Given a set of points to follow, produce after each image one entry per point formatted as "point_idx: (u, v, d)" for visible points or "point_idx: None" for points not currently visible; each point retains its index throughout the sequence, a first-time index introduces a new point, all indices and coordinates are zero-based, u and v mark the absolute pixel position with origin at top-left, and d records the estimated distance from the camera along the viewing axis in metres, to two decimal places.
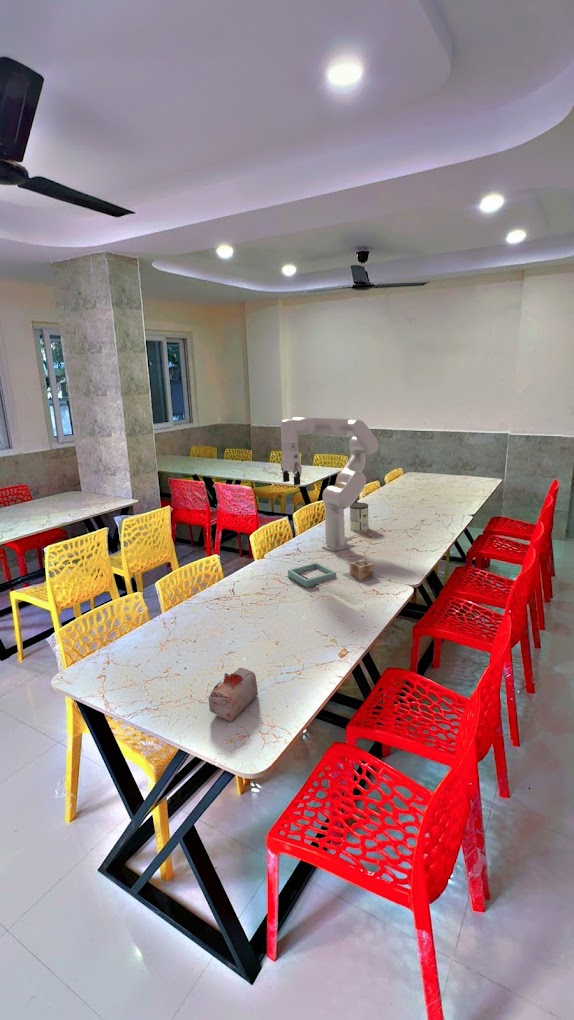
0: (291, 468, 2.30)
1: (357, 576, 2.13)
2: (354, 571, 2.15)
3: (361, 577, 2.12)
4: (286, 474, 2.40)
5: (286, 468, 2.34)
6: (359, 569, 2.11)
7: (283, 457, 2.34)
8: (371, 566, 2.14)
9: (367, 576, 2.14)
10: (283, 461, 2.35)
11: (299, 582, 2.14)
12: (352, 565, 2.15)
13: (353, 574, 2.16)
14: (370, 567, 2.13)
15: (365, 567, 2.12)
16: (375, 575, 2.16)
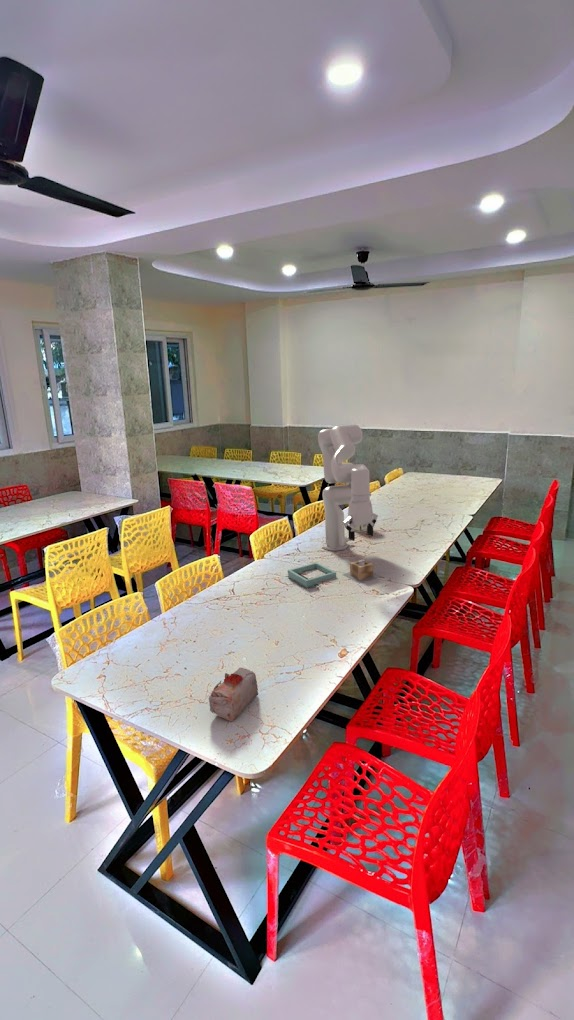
0: (371, 518, 2.10)
1: (357, 576, 2.13)
2: (354, 571, 2.15)
3: (361, 577, 2.12)
4: None
5: (363, 522, 2.08)
6: (359, 569, 2.11)
7: (359, 511, 2.06)
8: (371, 566, 2.14)
9: (367, 576, 2.14)
10: (359, 516, 2.06)
11: (299, 582, 2.14)
12: (352, 565, 2.15)
13: (353, 574, 2.16)
14: (370, 567, 2.13)
15: (365, 567, 2.12)
16: (375, 575, 2.16)
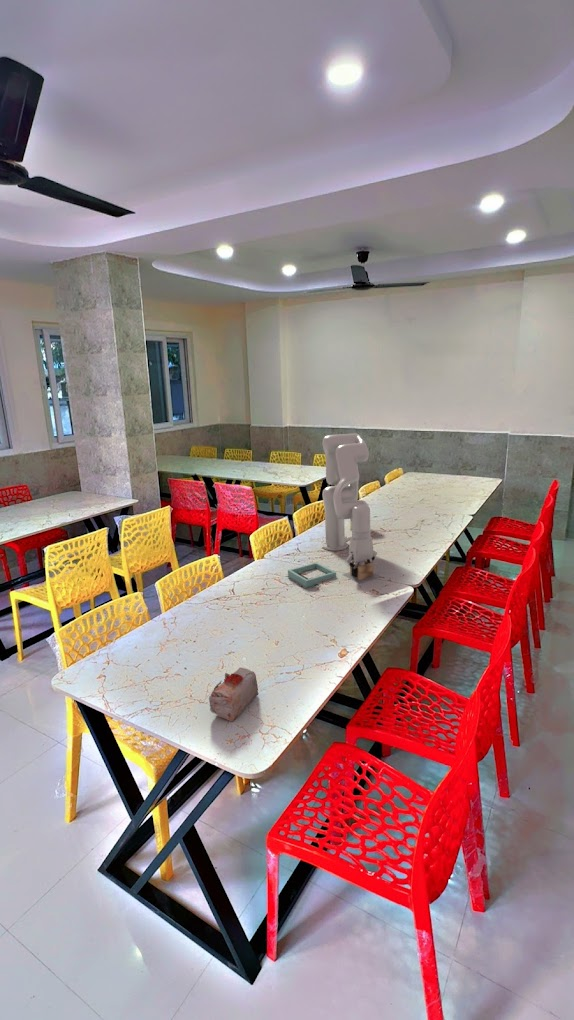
0: (372, 554, 2.14)
1: (357, 576, 2.13)
2: None
3: (361, 577, 2.12)
4: None
5: (364, 558, 2.12)
6: (359, 569, 2.11)
7: (360, 548, 2.10)
8: (371, 566, 2.14)
9: (367, 576, 2.14)
10: (360, 552, 2.10)
11: (299, 582, 2.14)
12: None
13: None
14: (370, 567, 2.13)
15: (365, 567, 2.12)
16: (375, 575, 2.16)
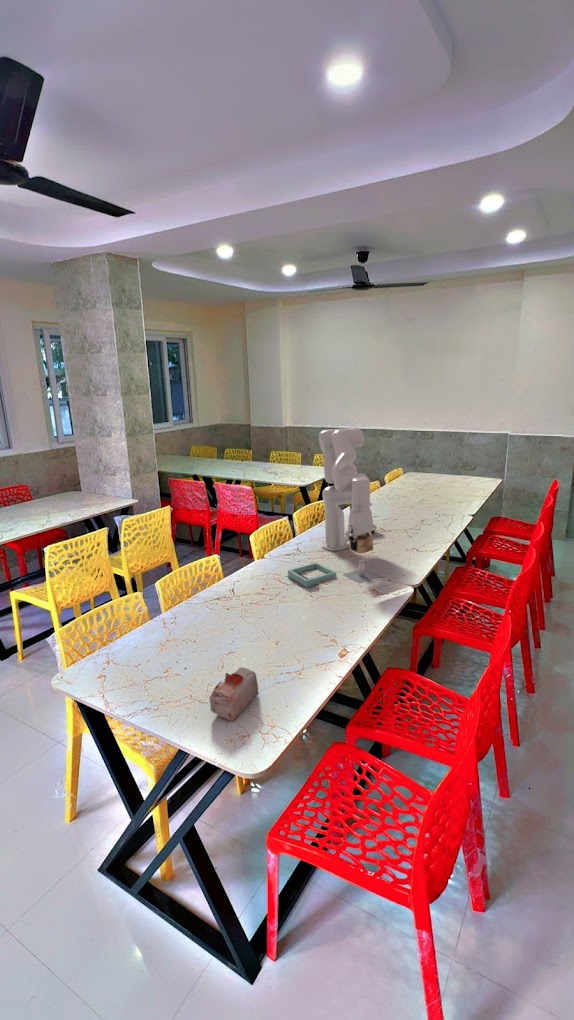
0: (371, 528, 2.12)
1: None
2: None
3: (360, 551, 2.09)
4: None
5: (363, 531, 2.10)
6: (359, 542, 2.08)
7: (360, 521, 2.07)
8: (371, 540, 2.11)
9: (366, 550, 2.11)
10: (359, 525, 2.08)
11: (299, 582, 2.14)
12: None
13: None
14: (370, 541, 2.11)
15: (364, 541, 2.09)
16: (375, 575, 2.16)
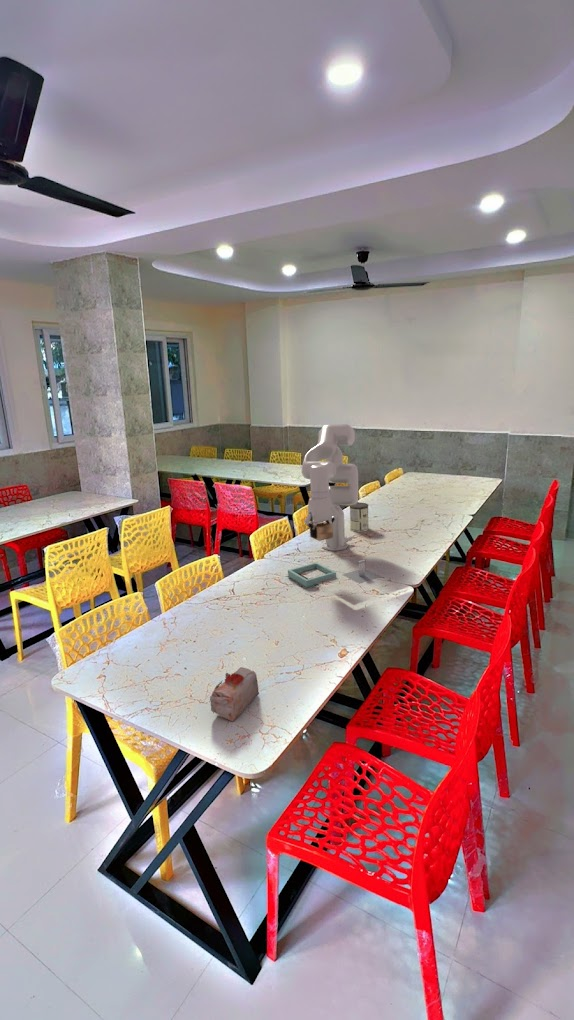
0: (331, 515, 2.12)
1: None
2: None
3: (320, 538, 2.10)
4: None
5: (323, 518, 2.10)
6: (318, 529, 2.09)
7: (319, 508, 2.08)
8: (330, 527, 2.11)
9: (326, 537, 2.11)
10: (318, 512, 2.08)
11: (299, 582, 2.14)
12: None
13: None
14: (329, 528, 2.11)
15: (324, 528, 2.10)
16: (375, 575, 2.16)
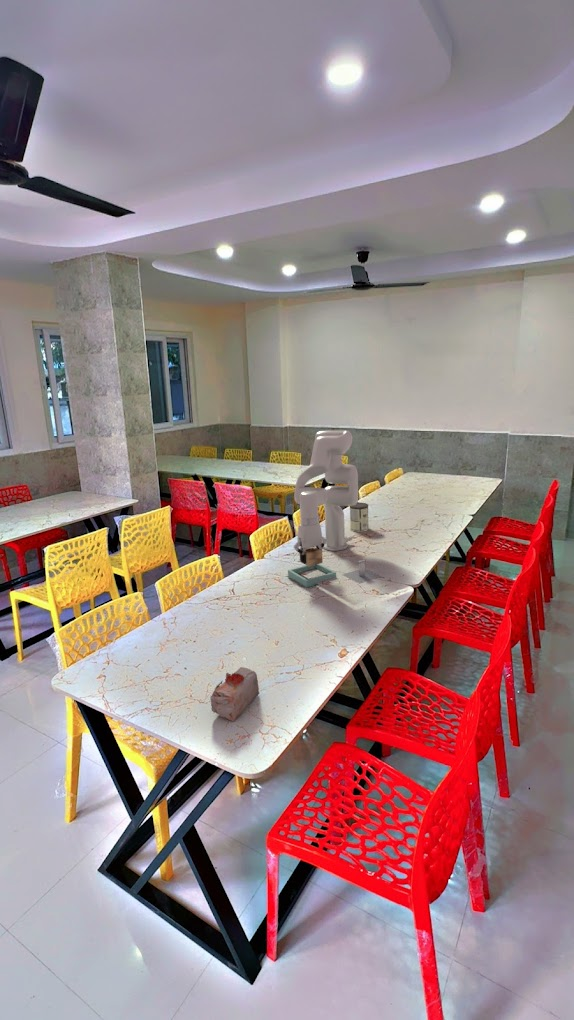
0: (320, 541, 2.15)
1: (306, 562, 2.14)
2: None
3: (309, 563, 2.13)
4: None
5: (312, 544, 2.13)
6: (307, 555, 2.12)
7: (308, 534, 2.11)
8: (320, 553, 2.15)
9: (316, 563, 2.15)
10: (308, 538, 2.11)
11: (299, 582, 2.14)
12: None
13: None
14: (319, 554, 2.14)
15: (313, 553, 2.13)
16: (375, 575, 2.16)
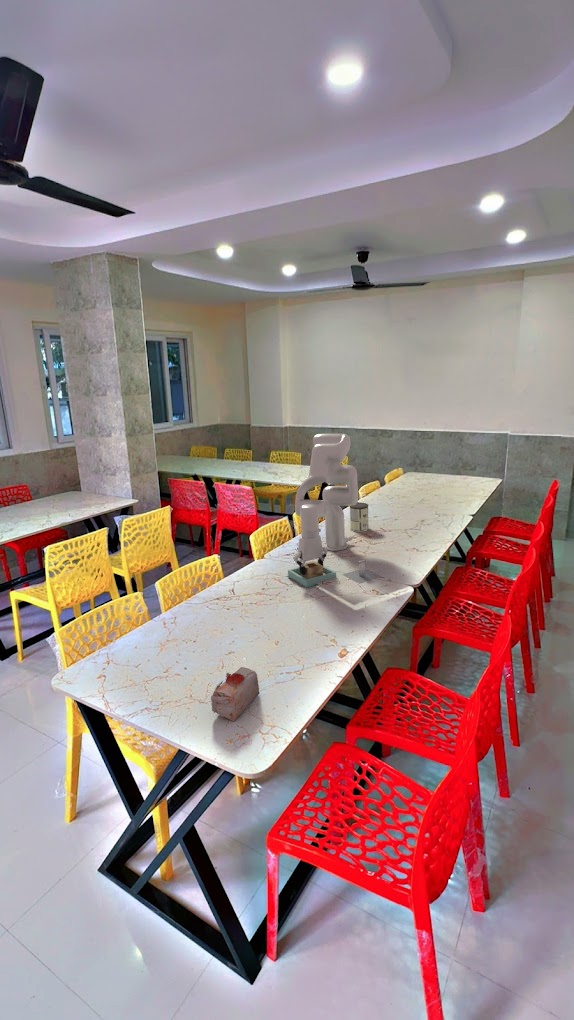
0: (321, 553, 2.17)
1: (307, 578, 2.16)
2: None
3: None
4: None
5: (313, 557, 2.15)
6: (308, 570, 2.14)
7: (309, 547, 2.13)
8: (320, 568, 2.17)
9: None
10: (308, 551, 2.13)
11: (299, 582, 2.14)
12: None
13: (303, 576, 2.19)
14: (319, 569, 2.16)
15: (314, 569, 2.15)
16: (375, 575, 2.16)
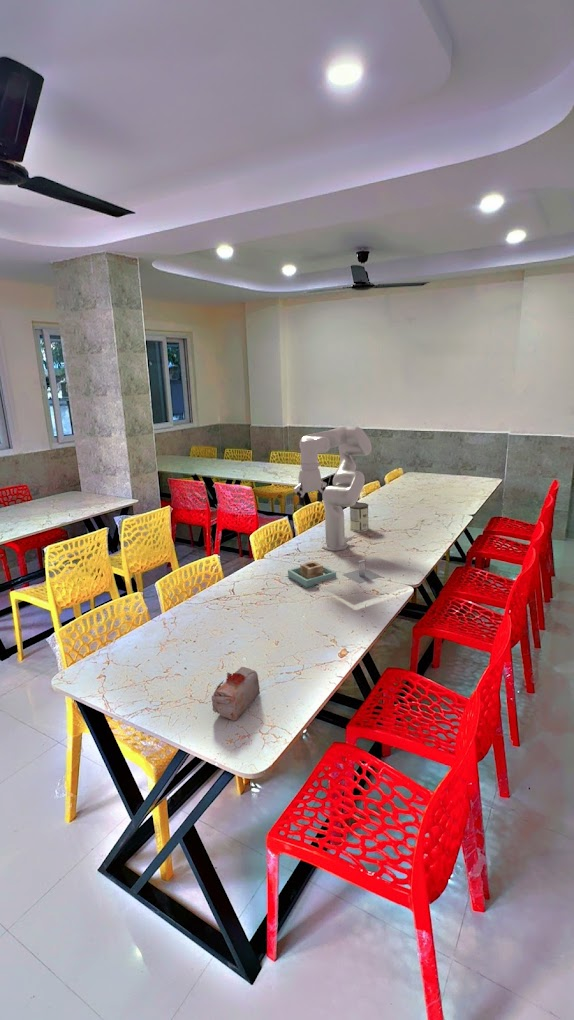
0: (320, 486, 2.31)
1: (307, 578, 2.16)
2: (304, 573, 2.18)
3: None
4: None
5: (312, 488, 2.29)
6: (308, 570, 2.14)
7: (308, 478, 2.26)
8: (320, 568, 2.17)
9: None
10: (308, 483, 2.27)
11: (299, 582, 2.14)
12: (302, 567, 2.18)
13: (303, 576, 2.19)
14: (319, 569, 2.16)
15: (314, 569, 2.15)
16: (375, 575, 2.16)
